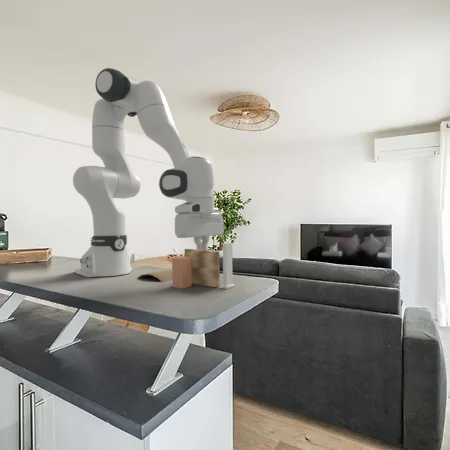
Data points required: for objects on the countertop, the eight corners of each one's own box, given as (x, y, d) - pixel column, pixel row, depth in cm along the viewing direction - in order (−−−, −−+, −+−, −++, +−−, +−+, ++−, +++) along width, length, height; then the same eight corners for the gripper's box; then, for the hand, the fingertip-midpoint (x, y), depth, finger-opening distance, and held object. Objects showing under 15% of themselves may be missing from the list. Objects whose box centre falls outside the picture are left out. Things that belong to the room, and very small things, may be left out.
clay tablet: (186, 279, 107) (186, 271, 107) (164, 284, 98) (164, 276, 98) (157, 275, 115) (157, 267, 115) (135, 279, 107) (135, 271, 107)
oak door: (182, 282, 97) (182, 249, 97) (187, 281, 99) (186, 248, 99) (215, 288, 89) (214, 251, 89) (219, 286, 91) (219, 251, 91)
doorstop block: (172, 286, 93) (172, 258, 93) (182, 284, 96) (181, 256, 96) (182, 288, 90) (181, 259, 90) (191, 285, 94) (191, 257, 93)
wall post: (220, 288, 90) (220, 243, 90) (228, 285, 94) (228, 242, 93) (227, 289, 89) (226, 243, 89) (235, 286, 92) (234, 242, 92)
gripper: (213, 208, 110) (214, 247, 110) (170, 207, 94) (172, 253, 94) (227, 207, 107) (228, 248, 107) (186, 206, 90) (187, 254, 90)
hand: (201, 250), depth 100 cm, fingers closed
